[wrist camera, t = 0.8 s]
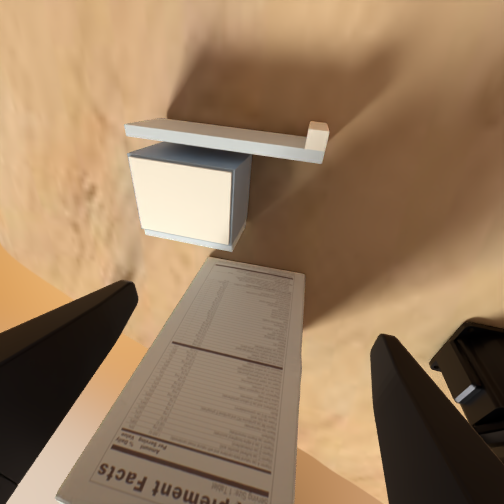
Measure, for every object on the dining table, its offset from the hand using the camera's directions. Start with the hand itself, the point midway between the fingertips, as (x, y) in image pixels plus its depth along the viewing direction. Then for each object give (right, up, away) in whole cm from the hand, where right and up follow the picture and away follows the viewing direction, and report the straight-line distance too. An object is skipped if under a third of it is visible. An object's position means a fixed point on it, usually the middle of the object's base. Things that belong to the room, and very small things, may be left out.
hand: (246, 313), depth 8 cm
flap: (-1, +10, +8) cm, 13 cm away
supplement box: (0, -3, +17) cm, 17 cm away
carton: (-3, +8, +11) cm, 13 cm away
